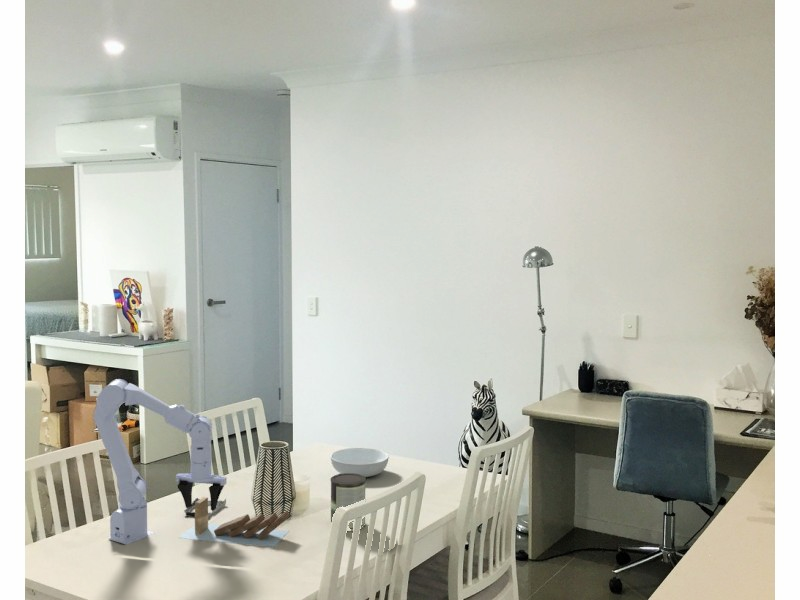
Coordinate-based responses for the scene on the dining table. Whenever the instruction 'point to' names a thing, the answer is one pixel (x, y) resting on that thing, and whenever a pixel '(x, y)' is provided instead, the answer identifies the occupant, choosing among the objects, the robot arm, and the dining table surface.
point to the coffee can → (347, 492)
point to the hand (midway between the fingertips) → (201, 508)
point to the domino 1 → (232, 525)
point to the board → (239, 539)
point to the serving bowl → (359, 461)
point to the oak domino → (201, 515)
